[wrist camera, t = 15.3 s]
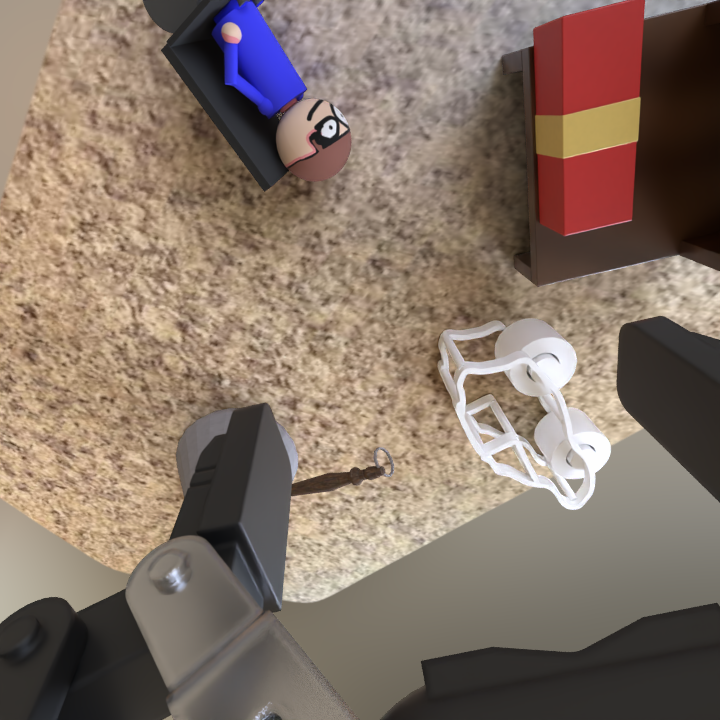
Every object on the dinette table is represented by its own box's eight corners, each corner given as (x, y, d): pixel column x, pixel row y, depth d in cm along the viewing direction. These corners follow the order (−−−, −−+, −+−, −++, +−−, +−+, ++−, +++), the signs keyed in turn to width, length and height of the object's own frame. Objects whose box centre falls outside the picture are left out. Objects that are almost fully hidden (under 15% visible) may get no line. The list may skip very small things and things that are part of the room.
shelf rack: (501, 55, 34) (645, 9, 19) (727, 0, 33) (1064, -94, 18) (514, 268, 41) (624, 358, 26) (698, 226, 40) (919, 293, 25)
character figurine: (230, -67, 30) (357, 151, 36) (141, 5, 31) (280, 205, 37) (213, -129, 23) (373, 155, 29) (98, -32, 24) (278, 222, 30)
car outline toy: (592, 438, 51) (631, 486, 44) (497, 481, 52) (522, 533, 46) (530, 284, 42) (568, 315, 35) (419, 342, 44) (436, 382, 37)
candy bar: (531, 28, 29) (561, 16, 25) (606, 10, 29) (647, -6, 25) (538, 223, 34) (563, 237, 31) (600, 209, 34) (633, 220, 31)
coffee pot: (236, 501, 51) (205, 637, 38) (159, 432, 46) (93, 560, 33) (402, 404, 47) (433, 519, 34) (336, 317, 42) (342, 411, 29)
